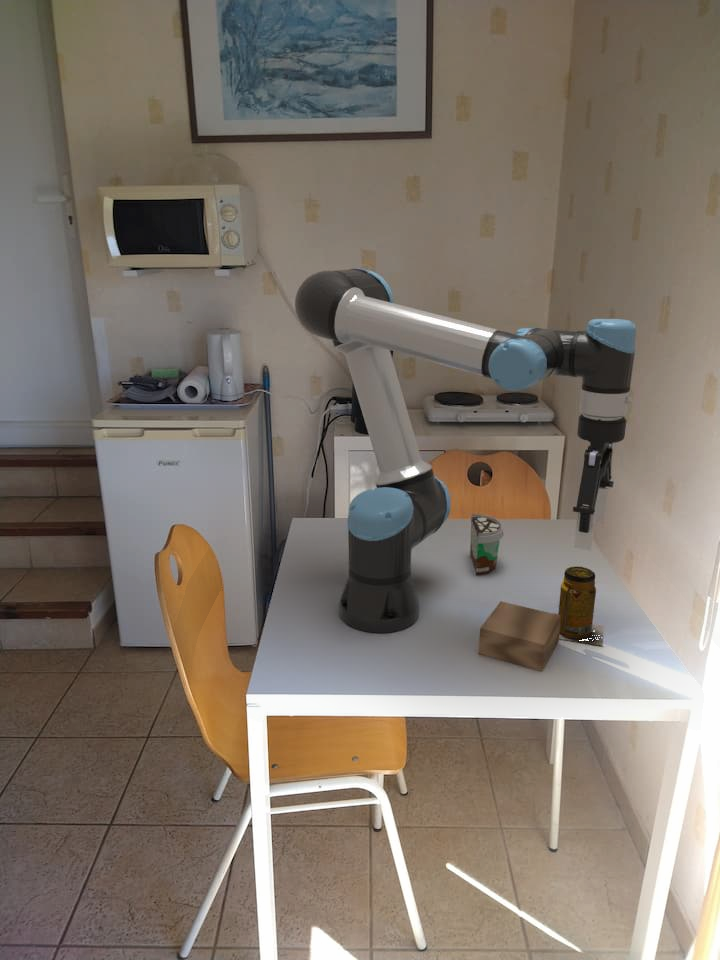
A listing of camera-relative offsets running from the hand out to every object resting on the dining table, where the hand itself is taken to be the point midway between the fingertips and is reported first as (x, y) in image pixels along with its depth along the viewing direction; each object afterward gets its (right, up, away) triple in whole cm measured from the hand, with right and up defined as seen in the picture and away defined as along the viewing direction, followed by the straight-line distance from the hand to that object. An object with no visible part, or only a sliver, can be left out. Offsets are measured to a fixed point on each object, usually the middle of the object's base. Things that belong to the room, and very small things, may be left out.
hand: (590, 534), depth 124 cm
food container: (-12, -9, +32) cm, 35 cm away
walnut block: (-12, -20, 0) cm, 23 cm away
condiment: (-1, -18, +5) cm, 19 cm away
